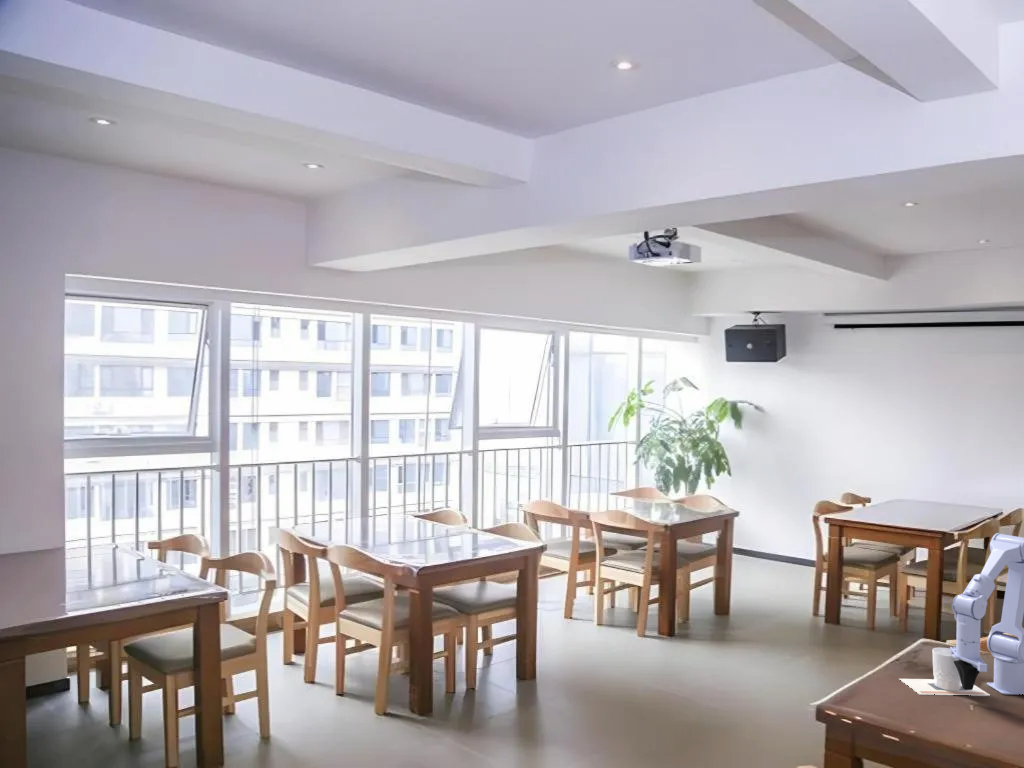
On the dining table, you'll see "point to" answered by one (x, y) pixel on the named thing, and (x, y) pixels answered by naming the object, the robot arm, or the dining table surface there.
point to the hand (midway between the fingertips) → (967, 688)
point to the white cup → (945, 670)
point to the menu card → (930, 689)
